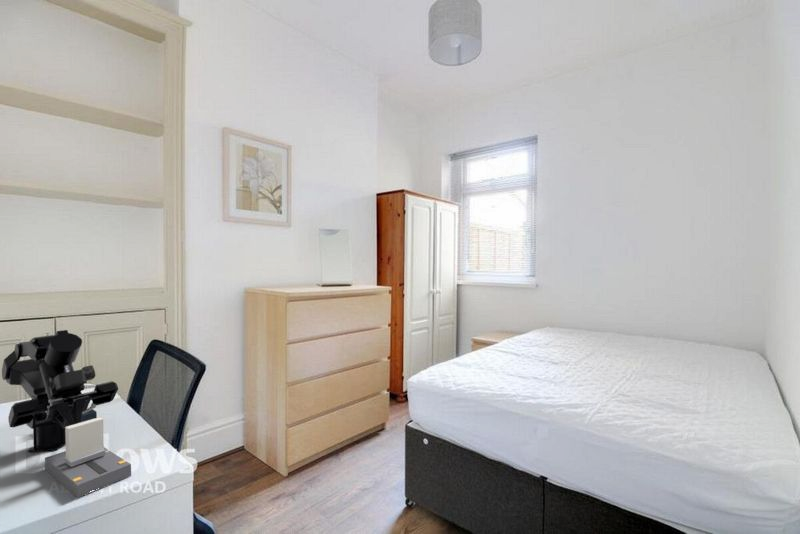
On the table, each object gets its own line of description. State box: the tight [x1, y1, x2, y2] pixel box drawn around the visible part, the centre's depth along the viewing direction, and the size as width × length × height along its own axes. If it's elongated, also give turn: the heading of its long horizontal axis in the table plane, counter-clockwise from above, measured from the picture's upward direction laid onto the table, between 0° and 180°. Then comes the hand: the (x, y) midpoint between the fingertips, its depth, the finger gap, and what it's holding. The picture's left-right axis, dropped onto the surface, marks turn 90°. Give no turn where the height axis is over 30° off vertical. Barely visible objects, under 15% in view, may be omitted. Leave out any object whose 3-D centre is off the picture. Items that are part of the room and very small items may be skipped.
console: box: [44, 446, 132, 499], centre depth 81 cm, size 20×9×3 cm, turn 57°
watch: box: [81, 383, 98, 422], centre depth 107 cm, size 6×8×11 cm
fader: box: [64, 416, 106, 467], centre depth 81 cm, size 4×6×8 cm, turn 147°
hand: (76, 433), depth 84 cm, fingers closed
